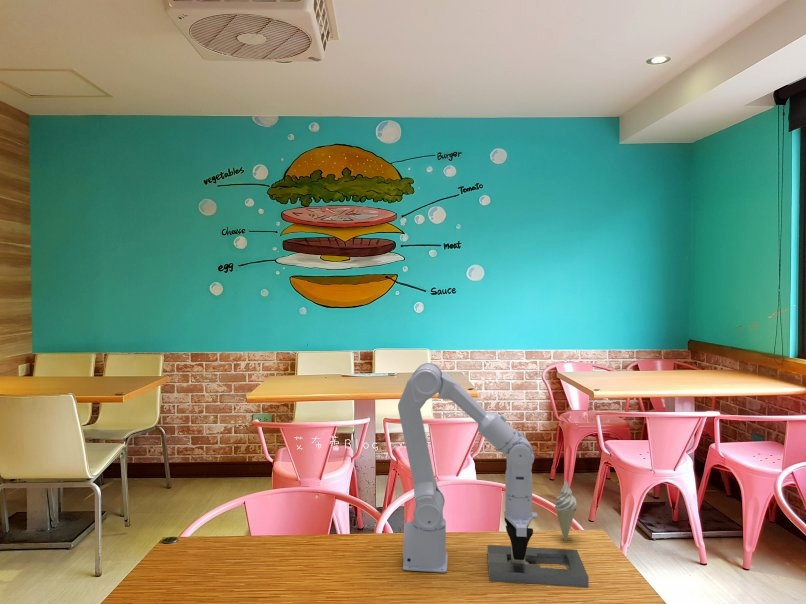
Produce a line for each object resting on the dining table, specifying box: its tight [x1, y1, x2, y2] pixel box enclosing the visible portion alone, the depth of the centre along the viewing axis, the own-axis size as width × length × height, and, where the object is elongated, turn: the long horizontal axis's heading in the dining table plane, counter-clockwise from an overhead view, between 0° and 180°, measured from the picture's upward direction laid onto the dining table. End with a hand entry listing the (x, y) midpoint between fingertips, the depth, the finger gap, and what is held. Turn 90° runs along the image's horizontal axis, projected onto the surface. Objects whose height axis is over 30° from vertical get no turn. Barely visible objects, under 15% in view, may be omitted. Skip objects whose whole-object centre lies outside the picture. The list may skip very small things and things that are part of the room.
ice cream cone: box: [554, 479, 577, 542], centre depth 135 cm, size 5×5×15 cm
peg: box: [507, 544, 530, 564], centre depth 121 cm, size 5×5×8 cm
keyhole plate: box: [486, 544, 589, 588], centre depth 121 cm, size 20×12×2 cm, turn 83°
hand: (518, 555), depth 121 cm, fingers closed on peg, 3 cm apart
